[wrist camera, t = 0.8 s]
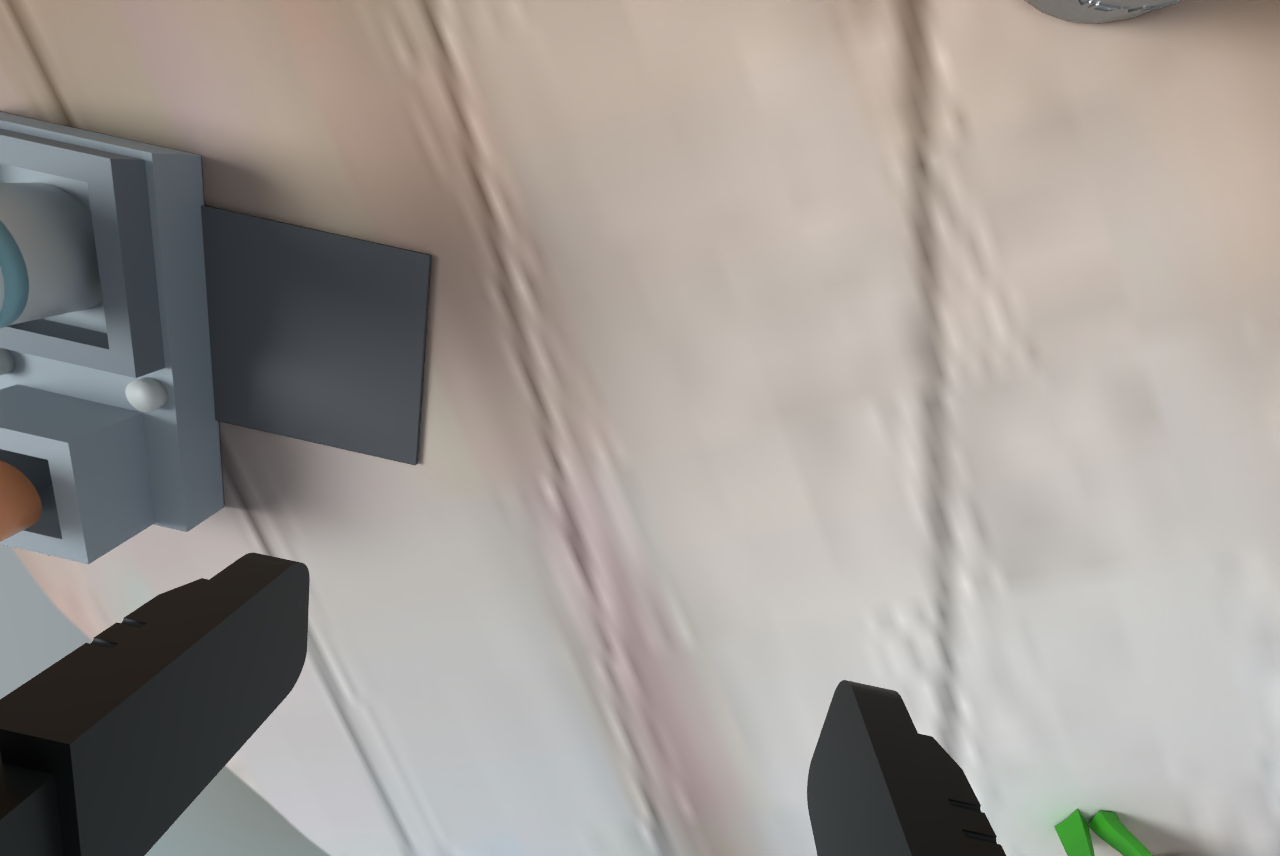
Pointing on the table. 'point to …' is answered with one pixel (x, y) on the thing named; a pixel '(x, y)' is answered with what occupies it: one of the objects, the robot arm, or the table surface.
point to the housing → (114, 352)
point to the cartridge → (45, 254)
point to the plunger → (17, 502)
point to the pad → (316, 334)
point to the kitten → (1106, 827)
